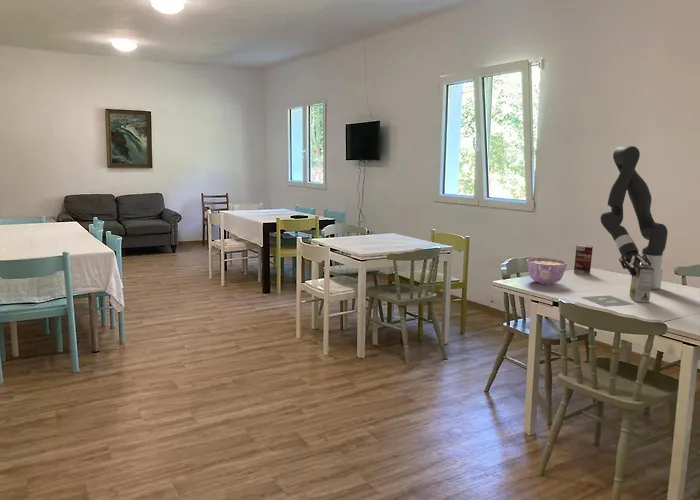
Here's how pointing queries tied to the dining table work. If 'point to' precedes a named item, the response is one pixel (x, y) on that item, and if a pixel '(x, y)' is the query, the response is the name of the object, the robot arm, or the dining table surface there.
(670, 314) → the dining table surface
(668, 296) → the dining table surface
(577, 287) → the dining table surface
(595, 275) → the dining table surface
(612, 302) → the mat
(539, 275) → the bowl of food
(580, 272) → the supplement box
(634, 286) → the coffee box
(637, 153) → the robot arm
